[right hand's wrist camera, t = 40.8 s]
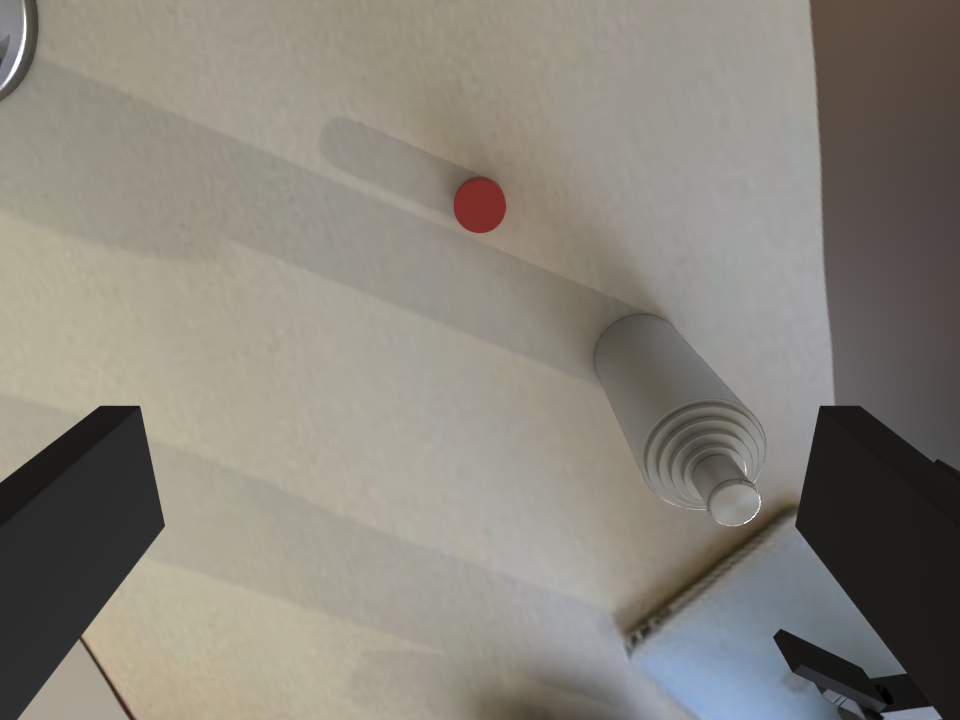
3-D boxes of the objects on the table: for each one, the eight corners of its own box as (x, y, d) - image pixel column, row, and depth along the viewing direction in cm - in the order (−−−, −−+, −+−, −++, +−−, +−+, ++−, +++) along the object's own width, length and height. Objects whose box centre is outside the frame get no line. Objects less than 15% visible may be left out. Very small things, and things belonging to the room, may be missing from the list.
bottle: (663, 406, 57) (771, 577, 36) (581, 385, 56) (642, 547, 35) (696, 326, 54) (833, 461, 33) (611, 303, 54) (696, 426, 33)
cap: (497, 171, 50) (498, 173, 47) (510, 220, 51) (511, 225, 49) (449, 184, 50) (447, 188, 48) (462, 232, 52) (461, 238, 49)
